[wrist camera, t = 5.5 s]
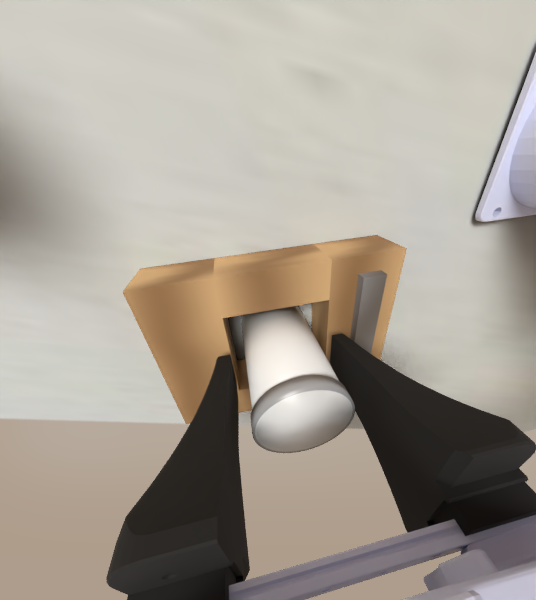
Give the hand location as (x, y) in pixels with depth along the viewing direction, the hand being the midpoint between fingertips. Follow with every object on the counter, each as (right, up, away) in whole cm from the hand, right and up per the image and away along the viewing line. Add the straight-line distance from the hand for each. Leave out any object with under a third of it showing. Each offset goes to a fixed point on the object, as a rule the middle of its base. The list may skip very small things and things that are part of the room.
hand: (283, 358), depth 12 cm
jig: (-1, +2, +3) cm, 3 cm away
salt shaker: (-1, +2, +3) cm, 3 cm away
